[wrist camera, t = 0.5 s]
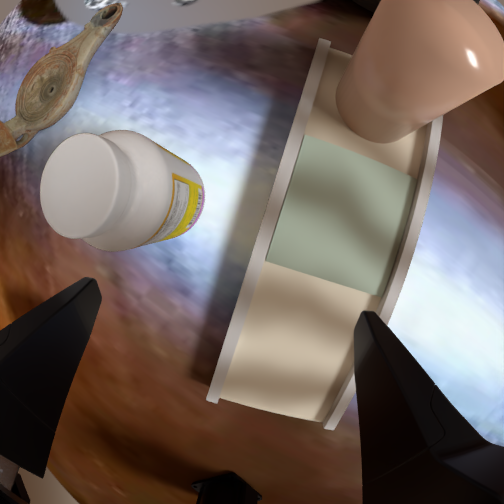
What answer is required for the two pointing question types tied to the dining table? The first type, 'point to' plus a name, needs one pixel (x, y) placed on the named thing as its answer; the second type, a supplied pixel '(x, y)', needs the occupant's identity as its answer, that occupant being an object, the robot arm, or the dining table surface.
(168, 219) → the supplement bottle
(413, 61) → the terracotta post
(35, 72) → the oil lamp
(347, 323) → the rail board
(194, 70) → the dining table surface
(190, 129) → the dining table surface
